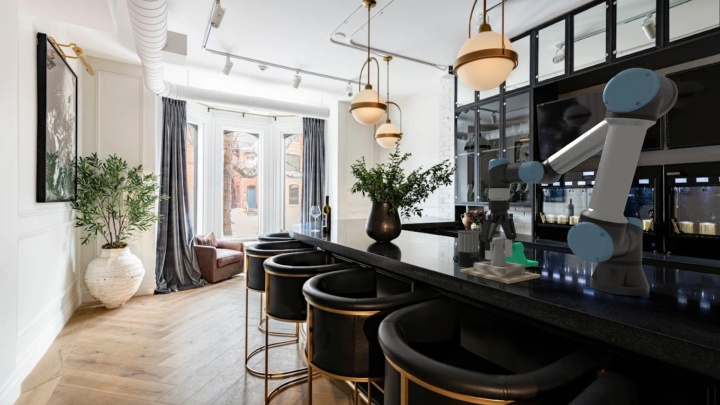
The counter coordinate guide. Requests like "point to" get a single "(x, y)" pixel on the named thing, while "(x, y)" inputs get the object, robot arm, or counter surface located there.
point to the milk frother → (469, 248)
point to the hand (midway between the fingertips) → (498, 257)
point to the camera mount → (520, 256)
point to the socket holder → (501, 272)
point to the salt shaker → (498, 253)
